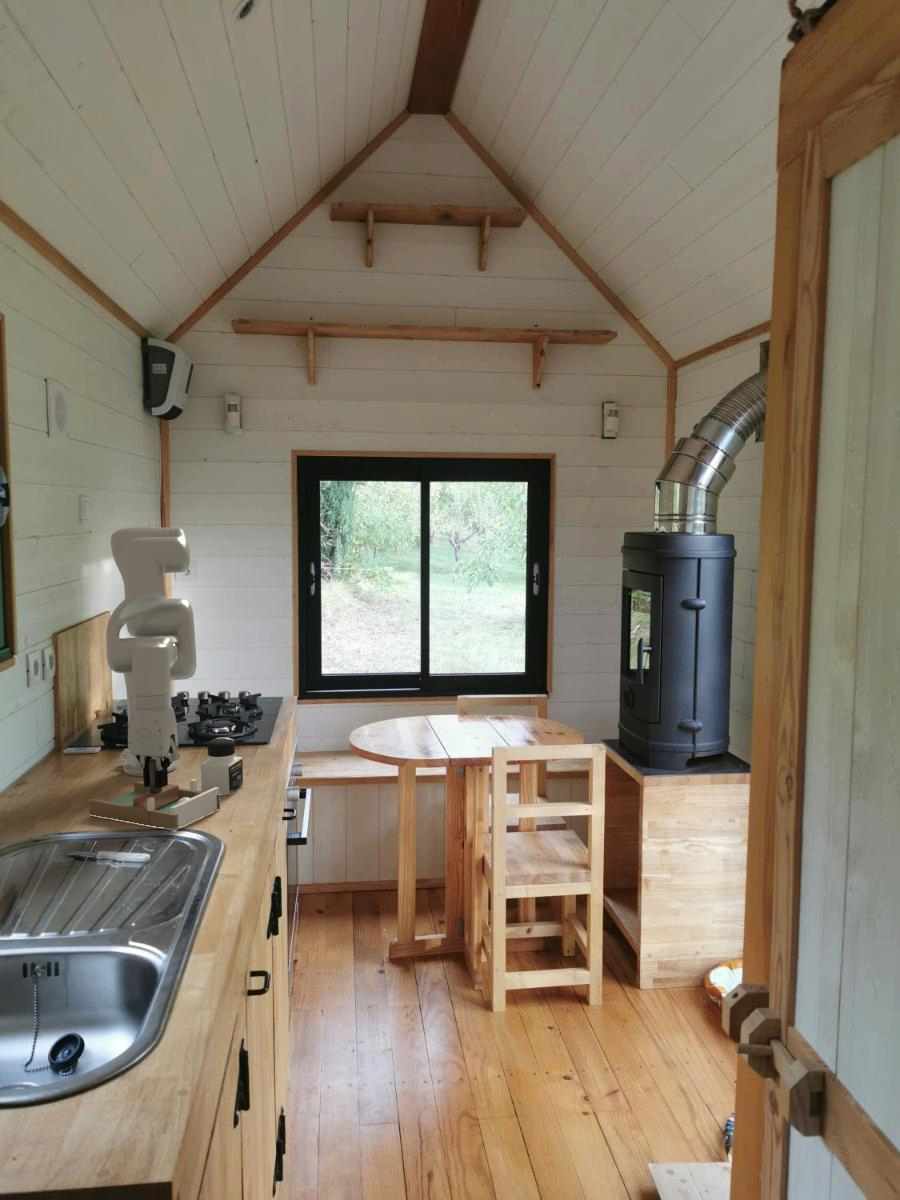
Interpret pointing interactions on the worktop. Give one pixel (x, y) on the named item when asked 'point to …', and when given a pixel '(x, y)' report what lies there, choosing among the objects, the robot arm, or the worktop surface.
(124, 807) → the pitch
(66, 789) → the worktop surface
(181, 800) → the ball
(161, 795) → the striker
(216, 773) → the medicine bottle
